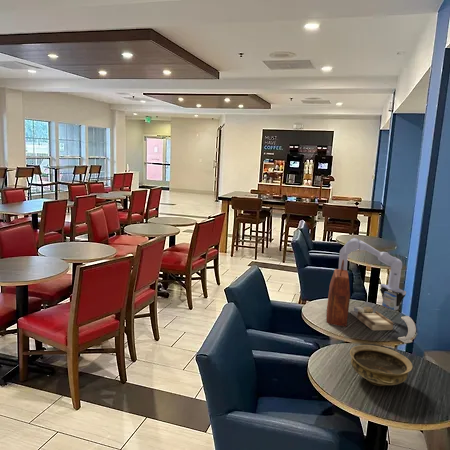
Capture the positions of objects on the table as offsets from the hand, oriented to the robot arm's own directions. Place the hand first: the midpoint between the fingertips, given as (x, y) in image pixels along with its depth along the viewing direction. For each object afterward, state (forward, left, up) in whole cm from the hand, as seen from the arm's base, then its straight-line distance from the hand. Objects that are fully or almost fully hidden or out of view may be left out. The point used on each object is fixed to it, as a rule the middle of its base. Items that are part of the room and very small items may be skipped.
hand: (390, 303), depth 230 cm
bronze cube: (-5, -9, -8) cm, 13 cm away
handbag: (-3, -31, -10) cm, 33 cm away
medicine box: (0, 0, -3) cm, 3 cm away
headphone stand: (+26, -7, -10) cm, 29 cm away
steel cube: (-5, -15, -8) cm, 17 cm away
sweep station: (+1, -12, -10) cm, 16 cm away
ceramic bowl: (+60, -44, -10) cm, 75 cm away
